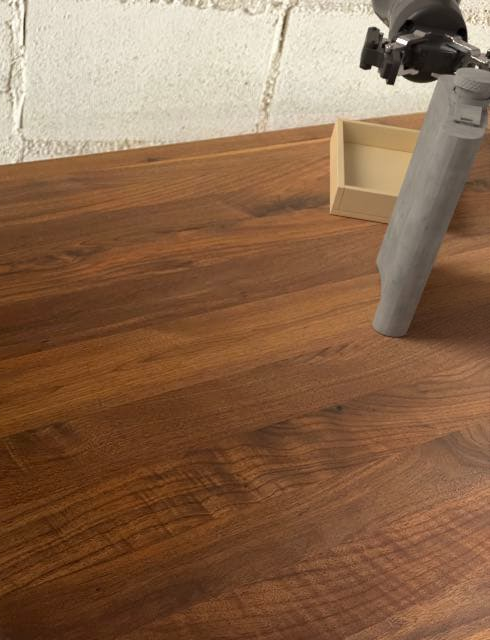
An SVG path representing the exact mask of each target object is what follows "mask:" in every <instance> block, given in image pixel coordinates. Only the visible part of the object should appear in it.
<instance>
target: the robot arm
mask: <svg viewBox="0 0 490 640" xmlns="http://www.w3.org/2000/svg"><path fill="white" fill-rule="evenodd" d="M370 2H371V3H370V4H371V8H372V10H373V13H374V14H375V15H376V16H377V18H378V19H379V20H380V21H381V22H382V23H383V24H384V25H385V26H386V27H387V28H388V34H387V37H384V35H385V33H384V32H381V29H380V28H378V27H377V26H369V27H368V28H367V31H366V34H365V38H364V40H363V41H364V42H363V45H362V48H361V52H360V57H359V58H360V59H359V65H358V67H359V68H360V69H361V70H364V71H370V70H372V67H375V68H377V71H376V72H377V73H378V74H379V77H380V78H381V79H382V80H385V84H386V85H388V86H394V85H395V83H396V80H397V77H402V78H403V79H405V80H407V81H409V82H412V83H414V84H415V83H416V84H429V83H433V82H437V80H438V77H439V76H441V75H455V74H456V71H457V70H458V69H460V68H476V66H477V69H481V70H486V71H489V72H490V48H488V49H487V51H486V52H485V53H484V52H481V49H480V48H479V47H477V46H475V45H473V44H471V43H469V34H468V28H467V24H466V21H465V18H464V16H463V13H462V11H461V8H460V5H461V2H462V0H370Z"/></svg>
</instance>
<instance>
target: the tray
mask: <svg viewBox="0 0 490 640" xmlns="http://www.w3.org/2000/svg"><path fill="white" fill-rule="evenodd" d="M419 133H420V130H419V129H413V128H405V127H399V126H394V125H387V124H382V123H381V124H380V123H373V122H368V121H362V120H355V119H348V118H342V117H336V118H335V122H334V126H333V130H332V132H331V137H330V141H329V214H330V215H333V216H340V217H345V218H346V217H347V218H350V219H351V218H352V219H358V220H364V221H369V222H374V223H375V222H376V223H380V224H381V223H382V224H387V225H388V224H389V221H390V218H391V215H392V212H393V210H394V207H395V204H396V201H397V198H398V195H399V192H400V189H401V186H402V183H403V180H404V177H405V174H406V171H407V168H408V165H409V163H410V160H411V157H412V154H413V151H414V148H415V145H416V142H417V139H418V136H419Z"/></svg>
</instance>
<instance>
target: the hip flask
mask: <svg viewBox="0 0 490 640" xmlns="http://www.w3.org/2000/svg"><path fill="white" fill-rule="evenodd" d="M489 106H490V72H489V71H486V70H481V69H478V68H476V67H475V68H460V69H458V70H457V71H456V72H455V75H441V76H439V77H438V80H436V83H435V86H434V89H433V92H432V94H431V98H430V101H429V103H428V107H427V110H426V112H425V116H424V119H423V122H422V125H421V128H420V130H419V131H420V133H419V136H418V139H417V142H416V145H415V148H414V151H413V154H412V157H411V160H410V163H409V165H408V168H407V171H406V174H405V177H404V180H403V183H402V186H401V189H400V192H399V195H398V198H397V201H396V204H395V207H394V210H393V212H392V215H391V218H390V221H389V224H387V228H386V230H385V233H384V236H383V240H382V242H381V245H380V248H379V251H378V253H377V257H376V260H375V264H376V267H377V270H378V273H379V277H380V299H379V302H378V305H377V308H376V311H375V314H374V317H373V319H372V322H371V326H372V328H373V329H374V330H375V332H377V333H379V334H381V335H383V336H387V337H391V338H393V337H394V338H401V337H403V336H405V335H406V334H407V333H408V330H409V329H410V326H411V323H412V320H413V318H414V316H415V313H416V311H417V308H418V306H419V303H420V301H421V298H422V295H423V293H424V289H425V287H426V284H427V283H428V279H429V277H430V274H431V272H432V269H433V267H434V264H435V262H436V259H437V257H438V254H439V251H440V249H441V246H442V244H443V241H444V239H445V236H446V233H447V231H448V228H449V226H450V223H451V220H452V219H453V216H454V213H455V211H456V208H457V207H458V203H459V200H460V199H461V195H462V193H463V191H464V187H465V185H466V183H467V180H468V177H469V176H470V175H469V174H470V172H471V170H472V167H473V165H474V162H475V159H476V157H477V154H478V151H479V149H480V146H481V144H482V141H483V139H484V136H485V134H486V132H487V128H488V124H489V112H488V107H489Z"/></svg>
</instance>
